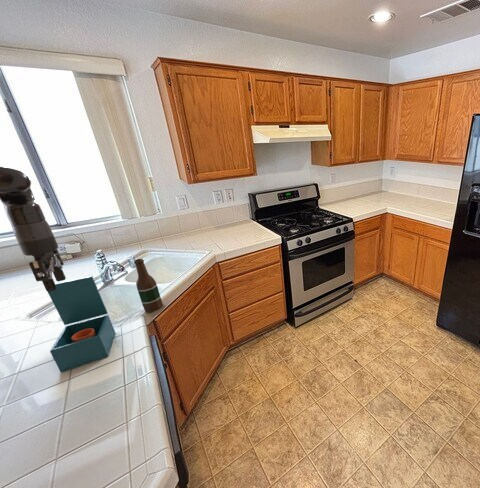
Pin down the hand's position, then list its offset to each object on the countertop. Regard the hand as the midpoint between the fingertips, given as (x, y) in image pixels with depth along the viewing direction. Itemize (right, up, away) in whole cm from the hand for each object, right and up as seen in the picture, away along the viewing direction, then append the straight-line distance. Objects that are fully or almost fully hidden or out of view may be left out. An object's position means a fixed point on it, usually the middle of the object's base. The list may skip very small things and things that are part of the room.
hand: (57, 285), depth 83 cm
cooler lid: (-4, -8, +12) cm, 14 cm away
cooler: (0, -26, +12) cm, 28 cm away
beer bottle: (+6, -17, +38) cm, 42 cm away
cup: (0, -25, +11) cm, 27 cm away
